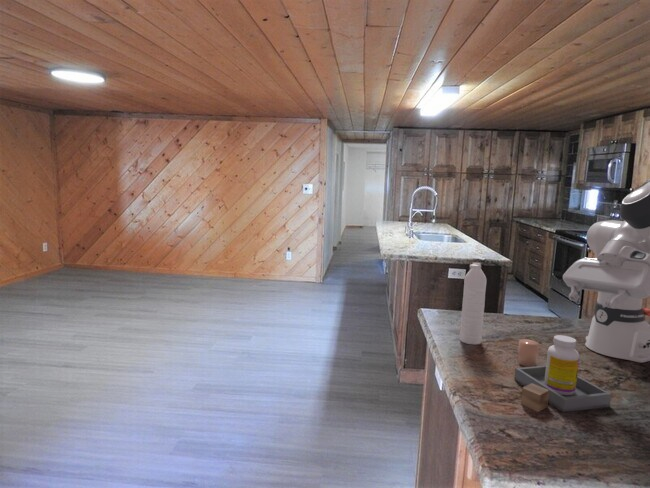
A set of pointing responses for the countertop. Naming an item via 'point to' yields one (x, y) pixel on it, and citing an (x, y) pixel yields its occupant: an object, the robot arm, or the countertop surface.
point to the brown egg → (528, 353)
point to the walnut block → (535, 397)
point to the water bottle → (473, 305)
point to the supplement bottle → (562, 365)
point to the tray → (580, 400)
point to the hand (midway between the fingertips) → (589, 302)
